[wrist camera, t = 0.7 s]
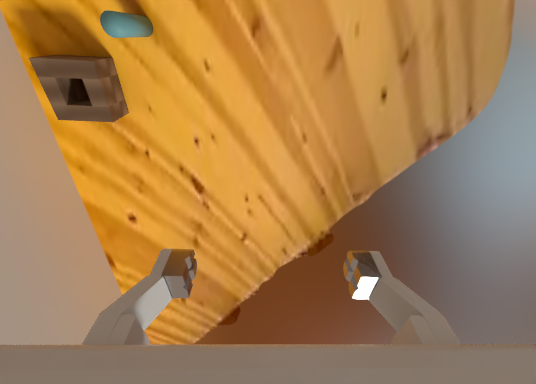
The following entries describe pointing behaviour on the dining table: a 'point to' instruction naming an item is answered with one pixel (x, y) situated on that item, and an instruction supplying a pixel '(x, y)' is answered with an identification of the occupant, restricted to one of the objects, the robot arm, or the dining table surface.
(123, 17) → the teal peg
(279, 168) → the dining table surface
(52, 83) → the walnut hole block
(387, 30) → the dining table surface
